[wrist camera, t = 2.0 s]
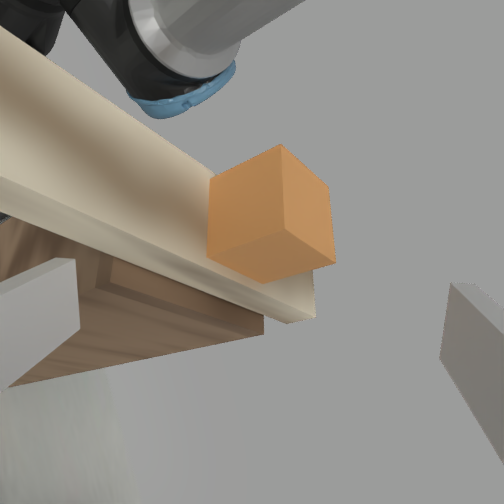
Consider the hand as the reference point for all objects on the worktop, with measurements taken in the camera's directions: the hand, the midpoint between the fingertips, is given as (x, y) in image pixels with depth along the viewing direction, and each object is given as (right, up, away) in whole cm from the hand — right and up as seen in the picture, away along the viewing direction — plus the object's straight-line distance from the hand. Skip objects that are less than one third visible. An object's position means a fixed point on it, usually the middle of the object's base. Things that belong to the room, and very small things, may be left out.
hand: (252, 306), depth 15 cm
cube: (-1, +3, +6) cm, 6 cm away
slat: (-4, +3, +4) cm, 7 cm away
